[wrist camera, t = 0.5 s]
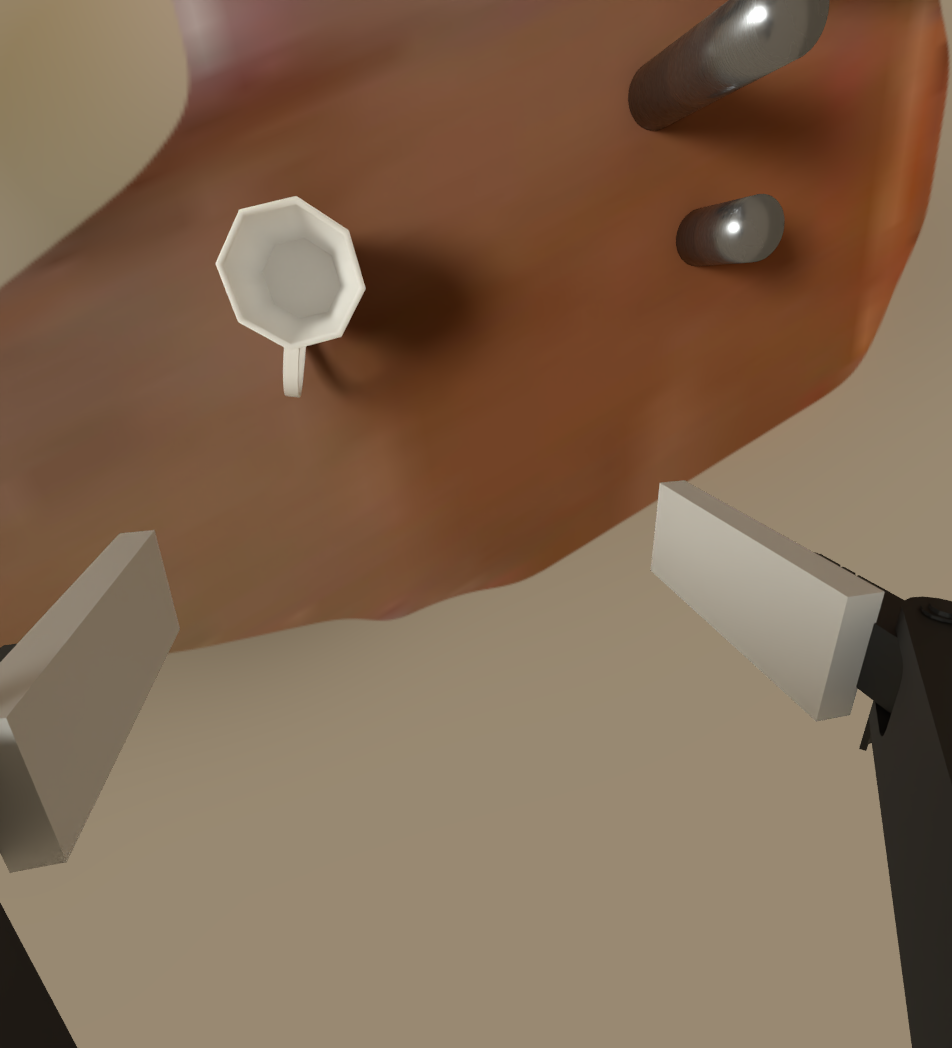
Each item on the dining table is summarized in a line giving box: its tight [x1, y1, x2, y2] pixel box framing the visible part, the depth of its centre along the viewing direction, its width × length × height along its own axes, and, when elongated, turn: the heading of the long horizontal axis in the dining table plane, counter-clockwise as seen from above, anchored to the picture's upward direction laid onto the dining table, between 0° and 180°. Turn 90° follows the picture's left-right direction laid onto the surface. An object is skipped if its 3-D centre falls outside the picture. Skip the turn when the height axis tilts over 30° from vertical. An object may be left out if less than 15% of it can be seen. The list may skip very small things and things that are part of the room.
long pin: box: [628, 0, 829, 131], centre depth 30 cm, size 4×4×12 cm
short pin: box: [676, 194, 784, 266], centre depth 37 cm, size 4×4×6 cm
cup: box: [216, 196, 366, 397], centre depth 32 cm, size 7×10×8 cm
